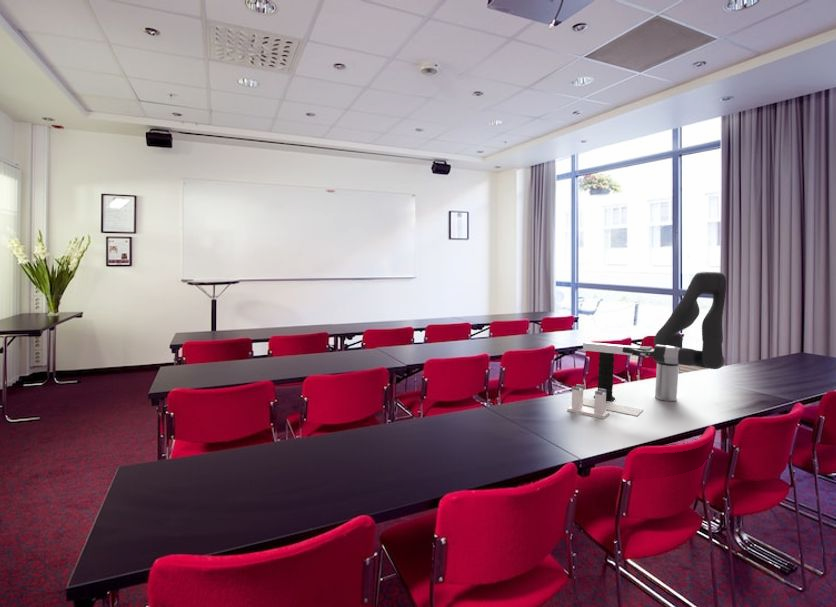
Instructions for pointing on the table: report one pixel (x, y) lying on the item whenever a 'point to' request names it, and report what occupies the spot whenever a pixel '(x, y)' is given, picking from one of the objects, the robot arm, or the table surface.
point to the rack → (578, 407)
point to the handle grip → (606, 374)
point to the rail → (607, 348)
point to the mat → (614, 407)
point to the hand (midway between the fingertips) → (624, 349)
